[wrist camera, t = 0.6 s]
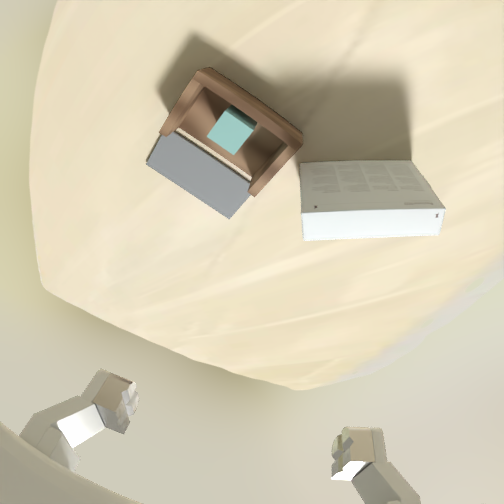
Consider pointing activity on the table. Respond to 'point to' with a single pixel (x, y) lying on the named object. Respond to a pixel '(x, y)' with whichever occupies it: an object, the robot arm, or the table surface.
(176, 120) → the open-fronted box
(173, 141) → the grey mat
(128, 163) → the table surface
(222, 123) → the teal block
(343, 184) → the skincare box
